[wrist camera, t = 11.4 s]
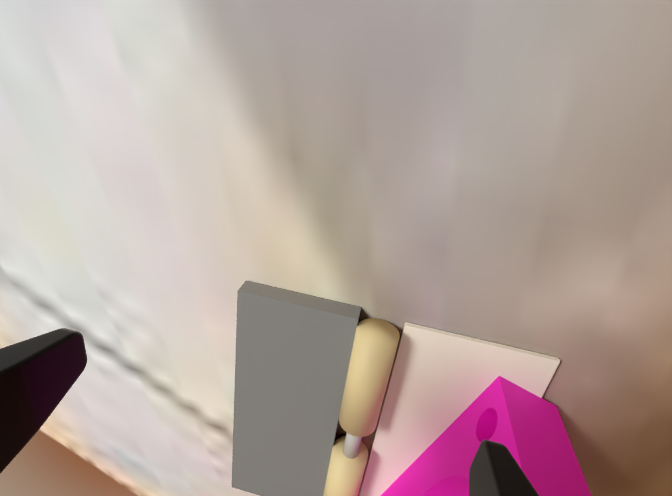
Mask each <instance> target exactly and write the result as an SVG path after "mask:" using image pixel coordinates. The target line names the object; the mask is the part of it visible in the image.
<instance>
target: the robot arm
mask: <svg viewBox="0 0 672 496" xmlns="http://www.w3.org/2000/svg"><path fill="white" fill-rule="evenodd" d="M86 363H87V355H86V350H85V344H84V339H83V336H82V334H81V333H80V332H78V331H74V330H70V329H66V328H62V329H58V330H55V331H52V332H49V333H46V334H43V335H40V336H37V337H34V338H31V339H28V340H25V341H22V342H19V343H16V344H13V345H10V346H7V347H5V348H2V349H0V473H1V472H2V471H3V470H4V469H5V467H6V466H7V465H8V464H9V463H10V462H11V461H12V460H13V459H14V457H15V456H16V455H17V454H18V453H19V452H20V451H21V450H22V449H23V447H24V446H25V445H26V444H27V443H28V442H29V441H30V439H31V438H32V437H33V436H34V435H35V434H36V432H37V431H38V430H39V429H40V427H41V426H42V425H43V424H44V422H45V421H46V420H47V419H48V417H49V416H50V414H51V413H52V412H53V410H54V409H55V408H56V406H57V405H58V404H59V402H60V401H61V400H62V398H63V397H64V396H65V394H66V393H67V392H68V390H69V389H70V388H71V386H72V385H73V384H74V382H75V381H76V380H77V378H78V377H79V376H80V374H81V373H82V372H83V370H84V368H85V366H86ZM469 496H539V495H538V493H537V492H536V490H535V489H534V487H533V486H532V484H531V483H530V481H529V480H528V478H527V477H526V475H525V474H524V472H523V471H522V469H521V468H520V466H519V465H518V463H517V462H516V460H515V459H514V457H513V456H512V454H511V453H510V451H509V450H508V448H507V447H506V446H505V445H503V444H501V443H498V442H494V441H490V440H483V441H482V442H481V444H480V446H479V448H478V450H477V452H476V455H475V457H474V459H473V461H472V464H471V467H470V471H469Z"/></svg>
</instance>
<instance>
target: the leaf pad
mask: <svg viewBox="0 0 672 496" xmlns="http://www.w3.org/2000/svg"><path fill="white" fill-rule="evenodd" d="M559 363H560V360H559V358H557V357H553V356H549V355H544V354H540V353H536V352H531V351H527V350H523V349H519V348H514V347H510V346H506V345H501V344H497V343H493V342H489V341H484V340H480V339H476V338H471V337H467V336H463V335H459V334H454V333H450V332H446V331H442V330H437V329H433V328H429V327H424V326H420V325H416V324H412V323H407V322H405V325H404V328H403V332H402V336H401V340H400V343H399V347H398V351H397V355H396V358H395V362H394V366H393V370H392V373H391V377H390V381H389V385H388V388H387V392H386V396H385V400H384V403H383V407H382V411H381V415H380V418H379V422H378V426H377V430H376V433H375V437H374V441H373V445H372V449H371V452H370V456H369V460H368V464H367V467H366V471H365V475H364V479H363V482H362V486H361V490H360V494H359V496H381V495H382V494H383V493H384V492H385V491H386V490H387V489H388V488H389V486H390V485H391V484H392V483H393V482H394V481H395V480H396V479H397V478H398V477H399V476H400V475H401V474H402V473H403V472H404V471H405V470H406V469H407V468H408V467H409V466H410V465H411V464H412V463H413V462H414V461H415V460H416V459H417V458H418V457H419V456H420V455H421V454H422V453H423V452H424V451H425V450H426V449H427V448H428V447H429V446H430V445H431V444H432V443H433V442H434V441H435V440H436V439H437V438H438V437H439V436H440V435H441V434H442V433H443V432H444V431H445V430H446V429H447V428H448V427H449V426H450V425H451V424H452V423H453V422H454V421H455V420H456V419H457V418H458V417H459V416H460V415H461V414H462V413H463V412H464V411H465V410H466V409H467V408H468V407H469V406H470V405H471V404H472V402H473V401H474V400H475V399H476V398H477V397H478V396H479V395H480V394H481V393H482V392H483V391H484V390H485V389H486V388H487V387H488V386H489V385H490V384H491V383H492V382H493V381H494V380H495V379H496V378H497V377H498V376H501V377H503V378H505V379H507V380H508V381H510V382H512V383H514V384H516V385H518V386H520V387H522V388H523V389H525V390H527V391H529V392H531V393H533V394H535V395H536V396H538V397H540V398H542V396H543V394H544V392H545V390H546V388H547V386H548V384H549V382H550V380H551V379H552V377H553V375H554V373H555V371H556V369H557V367H558V365H559Z"/></svg>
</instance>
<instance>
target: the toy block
mask: <svg viewBox="0 0 672 496" xmlns="http://www.w3.org/2000/svg"><path fill="white" fill-rule="evenodd" d="M483 440H490V441H494V442H498V443H501V444H503V445H505V446H506V447H507V448H508V450H509V451H510V453H511V454H512V456H513V457H514V459H515V460H516V462H517V463H518V465H519V466H520V468H521V469H522V471H523V472H524V474H525V475H526V477H527V478H528V480H529V481H530V483H531V484H532V486H533V487H534V489H535V490H536V492H537V493H538V495H539V496H591V493H590V491H589V488H588V486H587V483H586V480H585V478H584V475H583V473H582V470H581V468H580V465H579V463H578V460H577V457H576V455H575V452H574V450H573V447H572V445H571V442H570V439H569V437H568V434H567V432H566V429H565V427H564V424H563V421H562V419H561V416H560V414H559V411H558V409H557V406H555V405H554V404H552V403H550V402H548V401H546V400H544V399H542V398H540V397H538V396H536V395H535V394H533V393H531V392H529V391H527V390H525V389H523V388H522V387H520V386H518V385H516V384H514V383H512V382H510V381H508V380H507V379H505V378H503V377H501V376H498V377H497V378H496V379H495V380H494V381H493V382H492V383H491V384H490V385H489V386H488V387H487V388H486V389H485V390H484V391H483V392H482V393H481V394H480V395H479V396H478V397H477V398H476V399H475V400H474V401H473V402H472V404H471V405H470V406H469V407H468V408H467V409H466V410H465V411H464V412H463V413H462V414H461V415H460V416H459V417H458V418H457V419H456V420H455V421H454V422H453V423H452V424H451V425H450V426H449V427H448V428H447V429H446V430H445V431H444V432H443V433H442V434H441V435H440V436H439V437H438V438H437V439H436V440H435V441H434V442H433V443H432V444H431V445H430V446H429V447H428V448H427V449H426V450H425V451H424V452H423V453H422V454H421V455H420V456H419V457H418V458H417V459H416V460H415V461H414V462H413V463H412V464H411V465H410V466H409V467H408V468H407V469H406V470H405V471H404V472H403V473H402V474H401V475H400V476H399V477H398V478H397V479H396V480H395V481H394V482H393V483H392V484H391V485H390V486H389V488H388V489H387V490H386V491H385V492H384V493H383V494H382V495H381V496H469V471H470V467H471V464H472V461H473V459H474V457H475V455H476V452H477V450H478V448H479V446H480V444H481V442H482V441H483Z"/></svg>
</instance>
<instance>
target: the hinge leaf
mask: <svg viewBox="0 0 672 496" xmlns="http://www.w3.org/2000/svg"><path fill="white" fill-rule="evenodd" d="M360 312H361V307H358V306H354V305H349V304H345V303H341V302H336V301H332V300H328V299H323V298H319V297H315V296H310V295H306V294H302V293H298V292H293V291H289V290H285V289H280V288H276V287H272V286H267V285H263V284H259V283H254V282H250V281H246V282H245V283H244V284H243V285H242V286H241V288H240V289H239V290H238V300H237V332H236V365H235V397H234V430H233V462H232V487H234V488H237V489H240V490H244V491H247V492H250V493H254V494H257V495H260V496H358V494H359V490H360V486H361V482H362V478H363V475H364V471H365V467H366V463H367V460H368V450H367V447H366V445H365V444H364V443H363V442H362V441H361V439H362V437H365V436H368V435H370V434H372V433H373V432H374V430H375V429H376V425H377V422H378V418H379V414H380V410H381V407H382V403H383V399H384V395H385V391H386V388H387V384H388V380H389V376H390V373H391V369H392V365H393V361H394V357H395V354H396V350H397V346H398V342H399V338H400V334H399V331H398V330H397V328H396V327H395V326H394V325H392V324H391V323H389V322H387V321H385V320H381V319H376V318H369V319H364V320H362V321H361V322H359V323H358V321H359V316H360ZM338 421H339V423H340V425H341V427H342V428H343V430H344V431H346V432H347V434H346V436H343V437H340V438H339V439H337V440H336V441H335V436H336V431H337V426H338ZM334 441H335V443H334Z"/></svg>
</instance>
